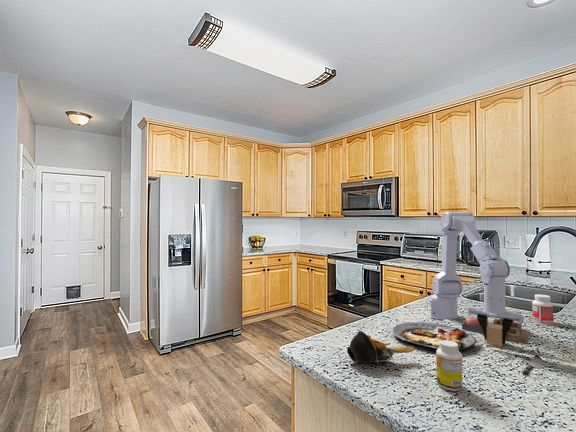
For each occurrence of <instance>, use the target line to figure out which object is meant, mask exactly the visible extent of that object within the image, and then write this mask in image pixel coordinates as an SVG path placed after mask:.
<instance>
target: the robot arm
mask: <svg viewBox="0 0 576 432" xmlns="http://www.w3.org/2000/svg"><path fill="white" fill-rule="evenodd" d="M475 224H476V216H474V214H473V212H472V211H445V212H443V214H442V215H441V217H440V231H441V232H442V247H441V248H442V250H441V271H440V272H438V273H437V274H435V275H434V277H433V282H432V292H433V293H434V294H432V295H431V299H430V319H435V320H439V321H440V320H442V321H445V320H446V319H447V320H448V319H449V320H454V319H457V318H458V313H459V311H458V298H460V296H461V295H462V294H463V291H464V290H463V289H464V287H463V283H462V277H460V275H459V274H456V273H457V257H458V255H457V254H458V253H457V252H458V251H457V250H458V235H459V234H460V233H463V235H464V236H465V237H466V238H467V240H468V241H469V242H470V244H471V245H472V246H471V249H470V250H471V252H472V253H473V255H474V257H475V259H476V260H477V263H479V267H478V270H479V273H480V276H481V281H482V283H483V308H482V307H473V306H472V307H471V306H469V307H468V308H467V314H468V315H475V316H476V318H477V320H478V322H479V324H480V326H481V328H482V331H483V332H482V335H483V334H484V336H483V338H484V341H487V325H488V323H489V321H488V318H493V319H499V320H500V319H503V321H502V328H503V336H502V343H503V345H505V344H506V341H507V340H506V336H507V333H508V331H509V329H510V327H511V326H512V323H513V321H514V322H517V323H521V324H524V321H525V320H524V314H518V313H515V312H514V313H510V312H511V311H509V312H506V311H507V310H506V309H507V308H506V307H507V306H506V301H507V300H506V278H508V277H509V276H510V274H511V268H510V265H509V263H508V261H507V260H506V259H503V258H502V257H501V256H498V254H497V252H495V250H494V248H493V247H492V246H491V244H490V243H489V242H488V241H487V240H486V241H485V240H483V239H482V236H481V234H480V232H479V230H478V229H477V227H476V225H475Z"/></svg>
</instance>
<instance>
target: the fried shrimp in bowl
mask: <svg viewBox="0 0 576 432" xmlns="http://www.w3.org/2000/svg"><path fill="white" fill-rule="evenodd" d="M390 345H391V343H387V342H386V343H384V342H382V341H380V340H377V339H373V338H372V336H371V335H370V334H367V333H365V332H364V331H362V330H359V331H358V332H357V333H356V335H354V337H353V338H352V339H351V341H350V344H349V346H348V347H347V349H346V350H347V351H346V353H347V355H348V356H349V358H350V359H351V361H352V362H353V363H357V362H358V363H361V364H368V363H375V364H378V365H382V364H383V365H384V364H387V363H389V359H391V358H393V356H394V354H395V353H396V354H403V353H407V354H409V353H413V352H414V351H415V350H416V349H415V347H414V346H413V345H412V346H411V345H409V346H401V347H400V346H399V347H388V346H390Z"/></svg>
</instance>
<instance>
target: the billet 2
mask: <svg viewBox="0 0 576 432" xmlns="http://www.w3.org/2000/svg"><path fill="white" fill-rule="evenodd" d="M506 312H510V313H514V314H515V312H514V311H508V310H506ZM499 320H500V325H502V321H503V319H499ZM514 322H515V321H513V323H512V326H511V327H514Z"/></svg>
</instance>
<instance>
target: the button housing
mask: <svg viewBox="0 0 576 432" xmlns="http://www.w3.org/2000/svg"><path fill="white" fill-rule="evenodd" d="M461 330H463V331H469V332H475V333H481V334H483V331H482V328H481V326H475V325H470V324H466V318H465V319H464V320H463V322H462V323H461Z"/></svg>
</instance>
